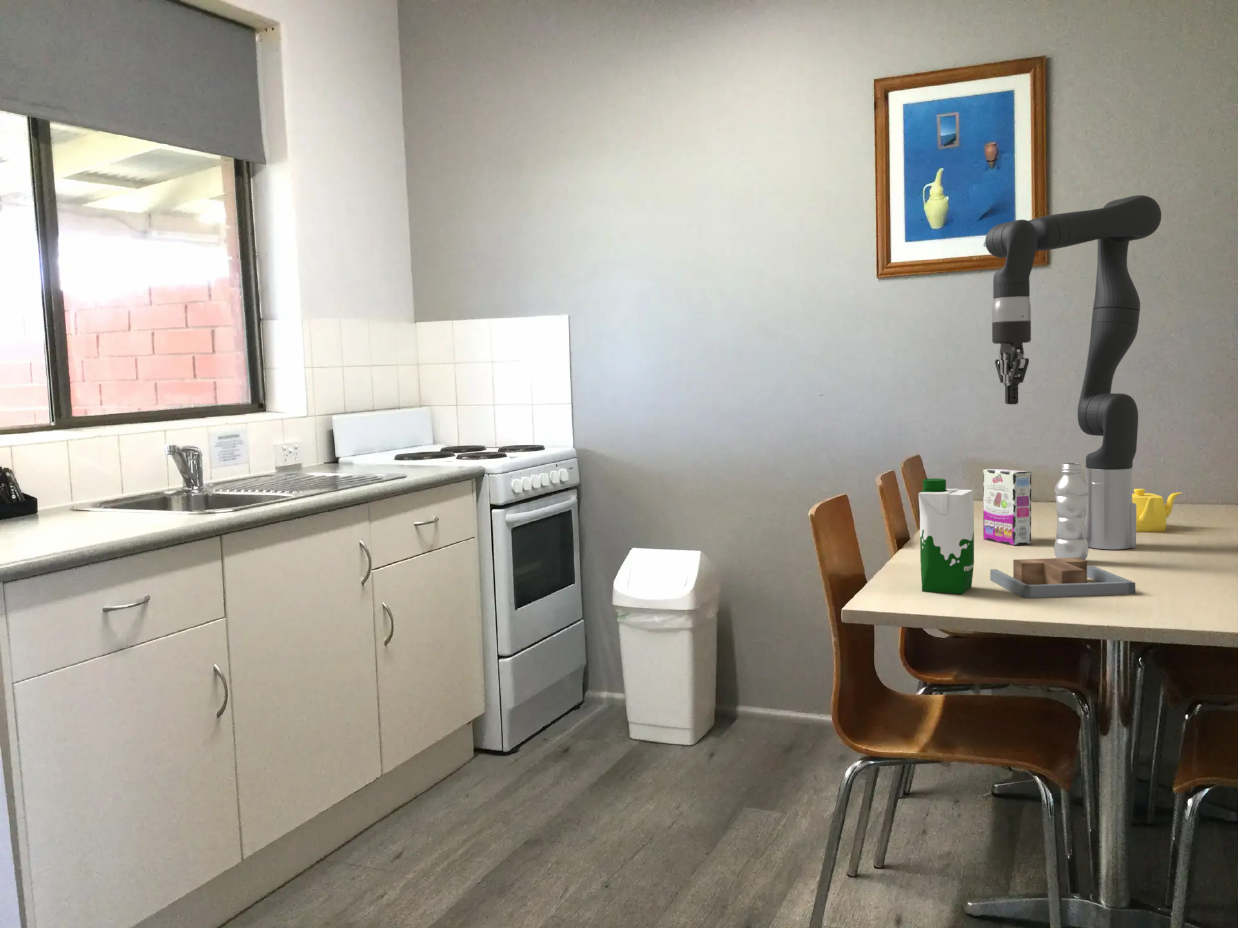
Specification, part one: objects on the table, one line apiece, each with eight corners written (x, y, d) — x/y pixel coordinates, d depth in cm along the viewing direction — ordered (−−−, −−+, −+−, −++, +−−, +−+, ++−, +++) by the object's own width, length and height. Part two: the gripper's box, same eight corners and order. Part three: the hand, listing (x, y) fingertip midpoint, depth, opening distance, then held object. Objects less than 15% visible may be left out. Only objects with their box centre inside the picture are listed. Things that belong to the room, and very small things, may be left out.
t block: (1077, 578, 198) (1077, 557, 198) (1107, 591, 187) (1107, 569, 186) (1013, 580, 198) (1013, 559, 198) (1038, 593, 187) (1038, 571, 186)
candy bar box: (1032, 544, 237) (1032, 471, 236) (1014, 546, 236) (1014, 472, 234) (1000, 537, 248) (1000, 467, 246) (982, 539, 246) (981, 468, 245)
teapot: (1153, 535, 244) (1154, 493, 243) (1095, 529, 255) (1095, 489, 254) (1184, 528, 252) (1184, 488, 252) (1126, 523, 264) (1126, 484, 263)
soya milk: (929, 582, 199) (928, 476, 197) (978, 586, 194) (978, 477, 192) (915, 591, 192) (914, 481, 190) (966, 595, 187) (965, 482, 185)
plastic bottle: (1087, 559, 217) (1087, 462, 215) (1090, 565, 211) (1090, 465, 209) (1053, 558, 219) (1053, 462, 217) (1054, 564, 213) (1055, 465, 211)
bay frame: (1093, 576, 200) (1093, 565, 200) (1135, 594, 184) (1135, 582, 184) (990, 579, 200) (990, 569, 200) (1023, 597, 184) (1023, 586, 183)
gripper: (1042, 317, 212) (1042, 404, 213) (1017, 321, 225) (1017, 402, 227) (1005, 319, 212) (1005, 405, 213) (982, 322, 225) (982, 404, 227)
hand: (1011, 404), depth 220 cm, fingers closed
